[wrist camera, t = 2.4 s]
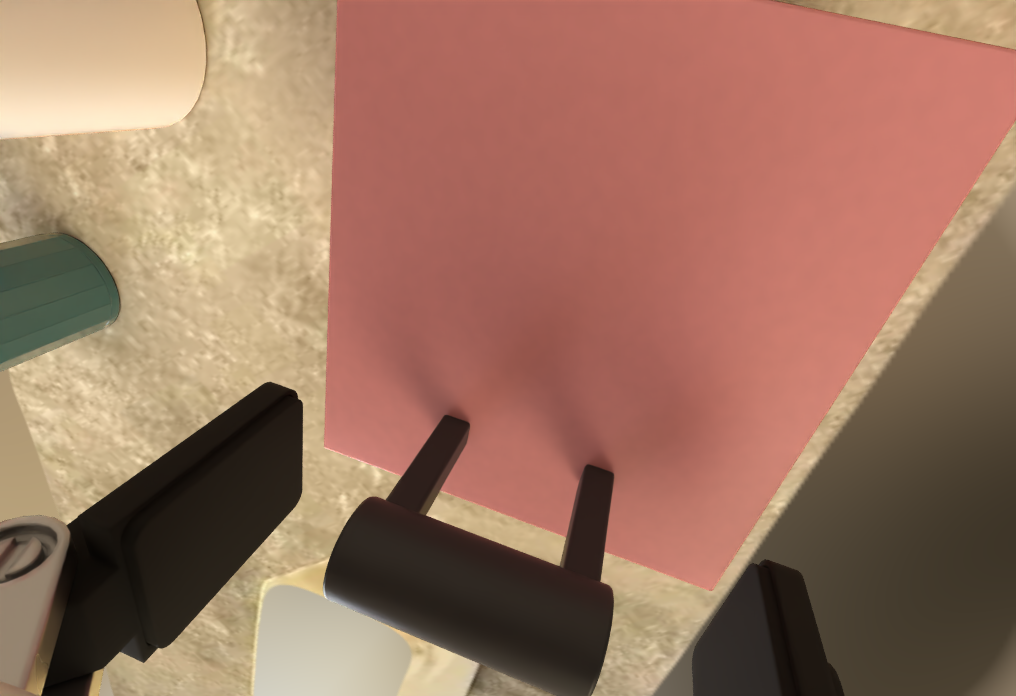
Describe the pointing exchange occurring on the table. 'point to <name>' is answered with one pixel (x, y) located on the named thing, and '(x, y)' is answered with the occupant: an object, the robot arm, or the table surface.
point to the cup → (51, 295)
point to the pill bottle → (98, 65)
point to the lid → (613, 283)
